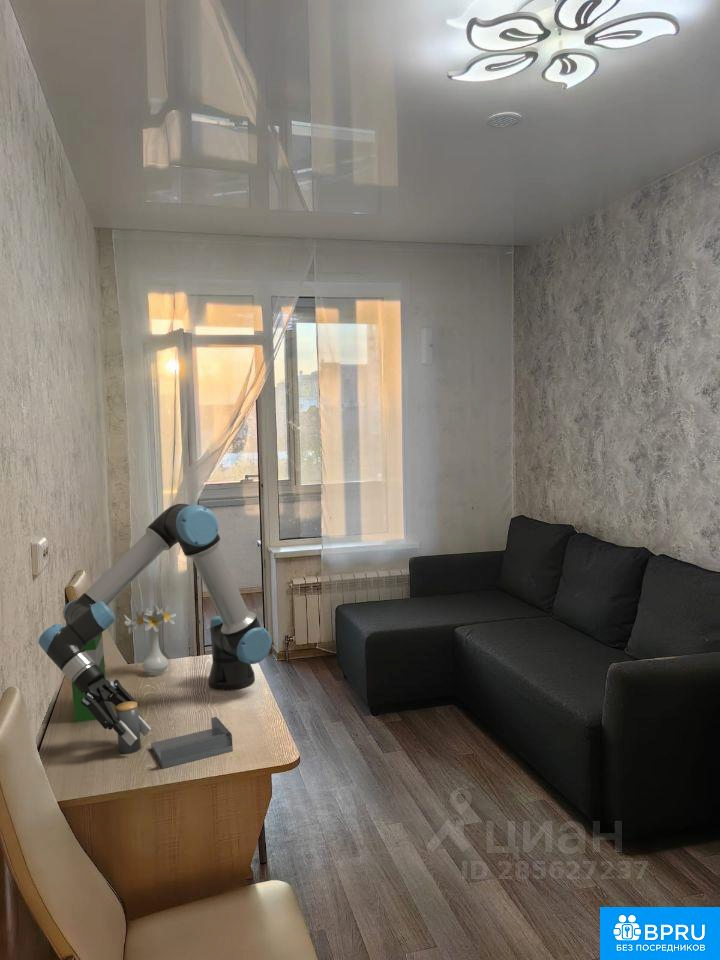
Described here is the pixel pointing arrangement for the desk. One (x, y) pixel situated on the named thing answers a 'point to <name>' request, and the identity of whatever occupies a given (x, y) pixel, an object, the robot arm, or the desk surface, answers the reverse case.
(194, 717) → the desk surface
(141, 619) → the flower vase
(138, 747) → the grey cylinder orange top
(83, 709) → the hardback book
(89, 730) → the desk surface
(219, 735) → the plate
